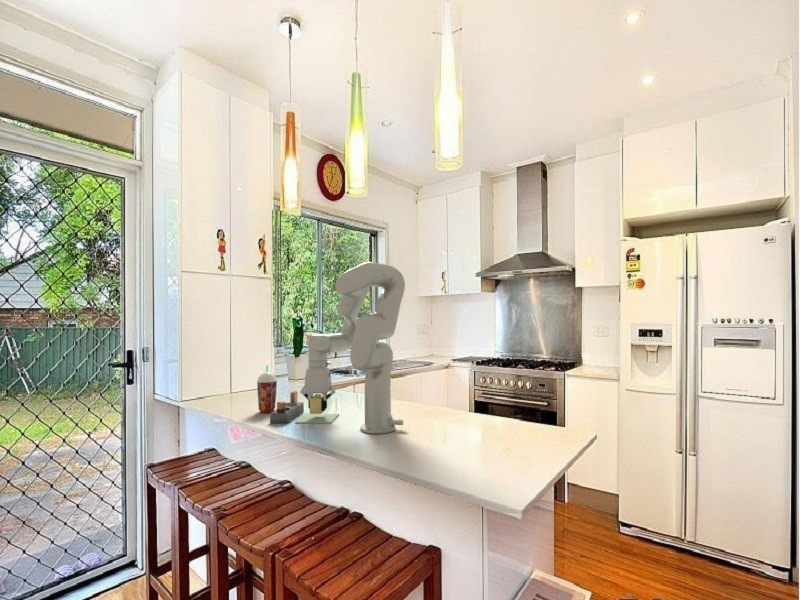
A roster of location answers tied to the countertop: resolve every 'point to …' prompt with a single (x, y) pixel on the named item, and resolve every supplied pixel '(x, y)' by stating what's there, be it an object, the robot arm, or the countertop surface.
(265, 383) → the smoothie
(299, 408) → the hand plane
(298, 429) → the countertop surface
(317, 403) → the lever cap
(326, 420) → the rubber mat
